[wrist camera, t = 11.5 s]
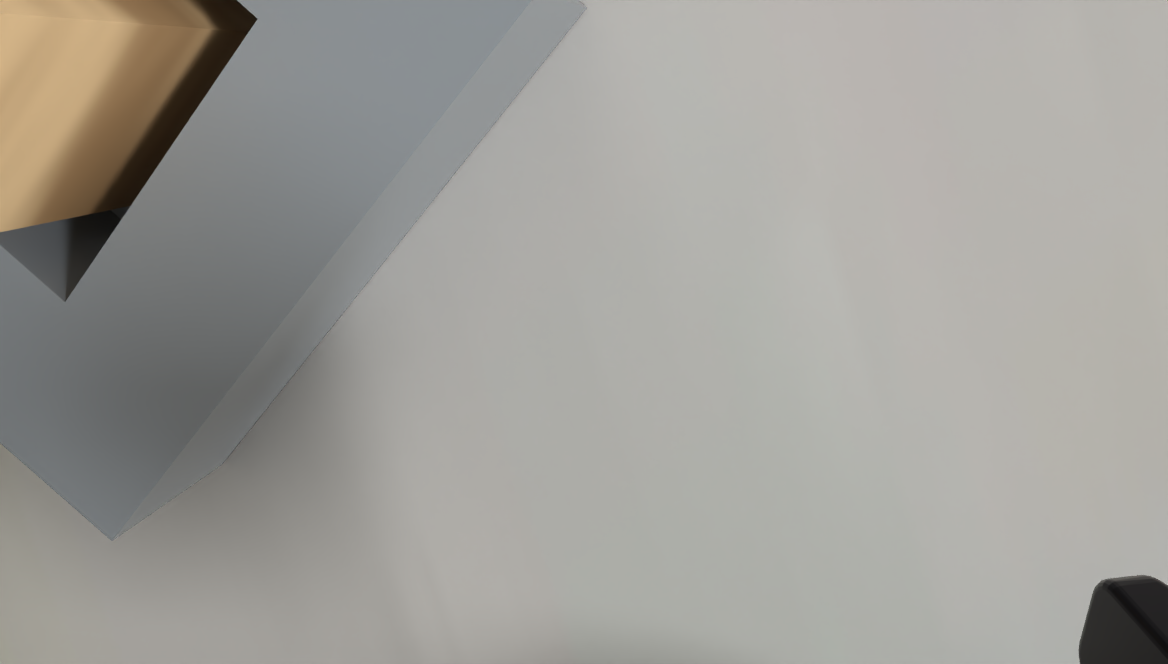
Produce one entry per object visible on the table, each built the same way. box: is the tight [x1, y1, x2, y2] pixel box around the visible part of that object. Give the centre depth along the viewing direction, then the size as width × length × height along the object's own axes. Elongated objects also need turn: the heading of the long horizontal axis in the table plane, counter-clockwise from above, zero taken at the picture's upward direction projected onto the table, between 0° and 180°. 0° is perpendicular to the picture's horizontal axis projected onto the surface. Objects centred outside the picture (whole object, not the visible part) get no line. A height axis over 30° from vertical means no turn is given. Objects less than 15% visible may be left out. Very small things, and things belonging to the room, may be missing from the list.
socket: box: [0, 0, 587, 541], centre depth 19 cm, size 13×13×4 cm
